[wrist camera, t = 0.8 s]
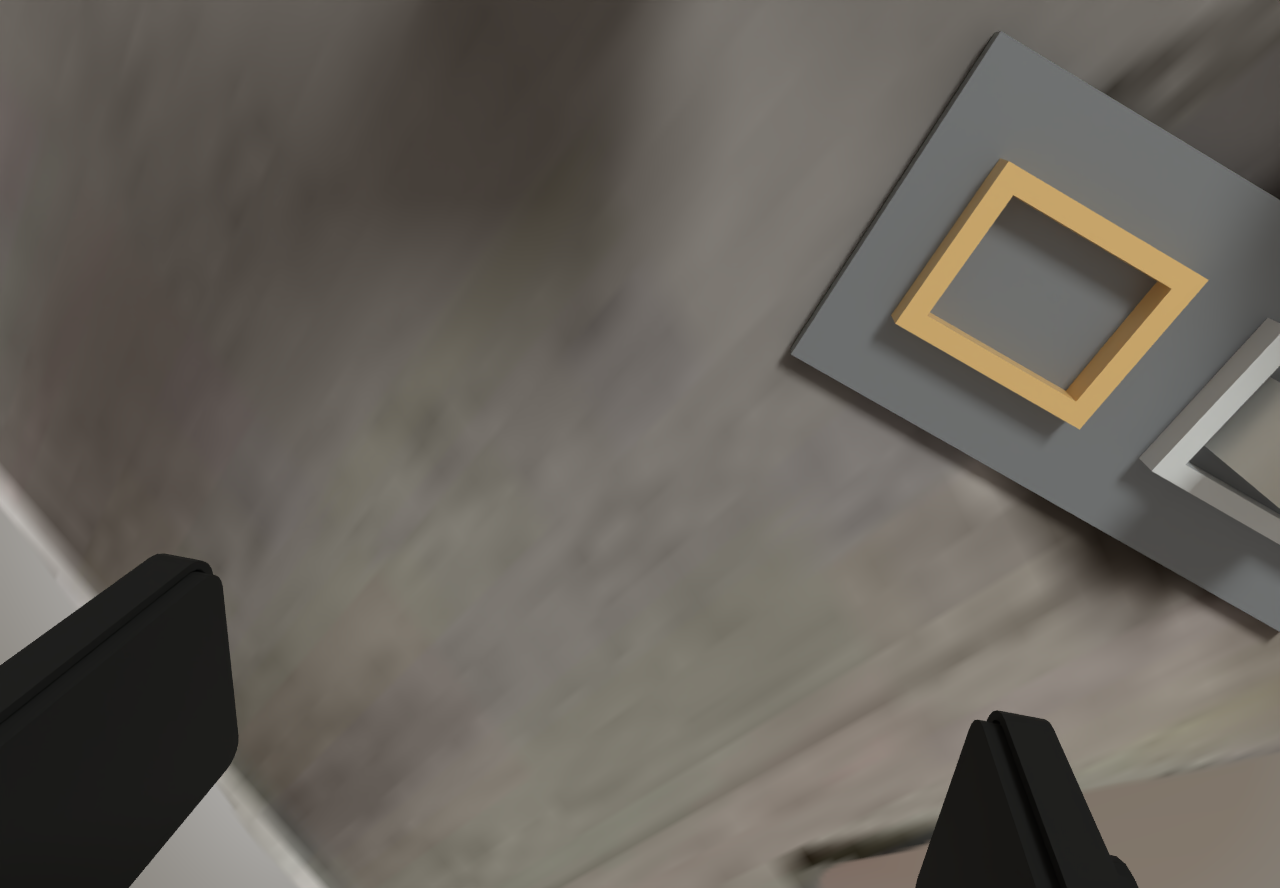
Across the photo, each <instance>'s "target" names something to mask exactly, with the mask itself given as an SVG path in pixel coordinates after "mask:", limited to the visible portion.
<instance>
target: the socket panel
mask: <svg viewBox="0 0 1280 888" xmlns="http://www.w3.org/2000/svg"><path fill="white" fill-rule="evenodd" d="M791 355H793V356H795V357H796V358H798V359H800V360H802V361H803V362H805V363H807V364H809V365H810V366H812V367H814V368H816V369H817V370H819V371H821V372H823V373H824V374H826V375H828V376H830V377H832V378H833V379H835V380H837V381H839V382H840V383H842V384H844V385H846V386H847V387H849V388H851V389H853V390H854V391H856V392H858V393H860V394H861V395H863V396H865V397H867V398H869V399H870V400H872V401H874V402H876V403H877V404H879V405H881V406H883V407H884V408H886V409H888V410H890V411H891V412H893V413H895V414H897V415H898V416H900V417H902V418H904V419H906V420H907V421H909V422H911V423H913V424H914V425H916V426H918V427H920V428H921V429H923V430H925V431H927V432H928V433H930V434H932V435H934V436H935V437H937V438H939V439H941V440H943V441H944V442H946V443H948V444H950V445H951V446H953V447H955V448H957V449H958V450H960V451H962V452H964V453H965V454H967V455H969V456H971V457H972V458H974V459H976V460H978V461H980V462H981V463H983V464H985V465H987V466H988V467H990V468H992V469H994V470H995V471H997V472H999V473H1001V474H1002V475H1004V476H1006V477H1008V478H1009V479H1011V480H1013V481H1015V482H1017V483H1018V484H1020V485H1022V486H1024V487H1025V488H1027V489H1029V490H1031V491H1032V492H1034V493H1036V494H1038V495H1039V496H1041V497H1043V498H1045V499H1046V500H1048V501H1050V502H1052V503H1054V504H1055V505H1057V506H1059V507H1061V508H1062V509H1064V510H1066V511H1068V512H1069V513H1071V514H1073V515H1075V516H1076V517H1078V518H1080V519H1082V520H1083V521H1085V522H1087V523H1089V524H1091V525H1092V526H1094V527H1096V528H1098V529H1099V530H1101V531H1103V532H1105V533H1106V534H1108V535H1110V536H1112V537H1113V538H1115V539H1117V540H1119V541H1121V542H1122V543H1124V544H1126V545H1128V546H1129V547H1131V548H1133V549H1135V550H1136V551H1138V552H1140V553H1142V554H1143V555H1145V556H1147V557H1149V558H1150V559H1152V560H1154V561H1156V562H1158V563H1159V564H1161V565H1163V566H1165V567H1166V568H1168V569H1170V570H1172V571H1173V572H1175V573H1177V574H1179V575H1180V576H1182V577H1184V578H1186V579H1187V580H1189V581H1191V582H1193V583H1195V584H1196V585H1198V586H1200V587H1202V588H1203V589H1205V590H1207V591H1209V592H1210V593H1212V594H1214V595H1216V596H1217V597H1219V598H1221V599H1223V600H1224V601H1226V602H1228V603H1230V604H1232V605H1233V606H1235V607H1237V608H1239V609H1240V610H1242V611H1244V612H1246V613H1247V614H1249V615H1251V616H1253V617H1254V618H1256V619H1258V620H1260V621H1261V622H1263V623H1265V624H1267V625H1269V626H1270V627H1272V628H1274V629H1276V630H1277V631H1279V632H1280V508H1278V507H1277V506H1276V505H1275V504H1274V503H1272V502H1271V501H1270V500H1269V499H1268V498H1266V497H1265V496H1264V495H1263V494H1262V493H1260V492H1259V491H1258V490H1257V489H1256V488H1254V487H1253V486H1252V485H1251V484H1250V483H1248V482H1247V481H1246V480H1245V479H1244V478H1242V477H1241V476H1240V475H1239V474H1238V473H1236V472H1235V471H1234V470H1233V469H1232V468H1230V467H1229V466H1228V465H1227V464H1226V463H1225V462H1223V461H1222V460H1221V459H1220V458H1219V457H1217V456H1216V455H1215V454H1214V453H1213V452H1211V451H1210V450H1209V449H1208V448H1207V447H1205V446H1204V445H1205V444H1206V443H1207V442H1208V441H1209V440H1210V439H1211V438H1212V437H1213V436H1214V435H1215V434H1216V433H1217V432H1218V431H1219V430H1220V429H1221V427H1222V426H1223V425H1224V424H1225V423H1226V422H1227V421H1228V420H1229V419H1230V418H1231V417H1232V416H1233V415H1234V414H1235V413H1236V412H1237V411H1238V410H1239V409H1240V408H1241V406H1242V405H1243V404H1244V403H1245V402H1246V401H1247V400H1248V399H1249V398H1250V397H1251V396H1252V395H1253V394H1254V393H1255V392H1256V391H1257V390H1258V389H1259V388H1260V387H1261V386H1262V384H1263V383H1264V382H1265V381H1266V380H1267V379H1268V378H1269V377H1271V378H1273V379H1275V380H1277V381H1278V382H1280V200H1279V199H1277V198H1276V197H1274V196H1272V195H1271V194H1269V193H1267V192H1266V191H1264V190H1262V189H1261V188H1259V187H1257V186H1256V185H1254V184H1253V183H1251V182H1249V181H1248V180H1246V179H1244V178H1243V177H1241V176H1239V175H1238V174H1236V173H1234V172H1233V171H1231V170H1229V169H1228V168H1226V167H1224V166H1223V165H1221V164H1220V163H1218V162H1216V161H1215V160H1213V159H1211V158H1210V157H1208V156H1206V155H1205V154H1203V153H1201V152H1200V151H1198V150H1196V149H1195V148H1193V147H1191V146H1190V145H1188V144H1187V143H1185V142H1183V141H1182V140H1180V139H1178V138H1177V137H1175V136H1173V135H1172V134H1170V133H1168V132H1167V131H1165V130H1163V129H1162V128H1160V127H1158V126H1157V125H1155V124H1154V123H1152V122H1150V121H1149V120H1147V119H1145V118H1144V117H1142V116H1140V115H1139V114H1137V113H1135V112H1134V111H1132V110H1130V109H1129V108H1127V107H1125V106H1124V105H1122V104H1121V103H1119V102H1117V101H1116V100H1114V99H1112V98H1111V97H1109V96H1107V95H1106V94H1104V93H1102V92H1101V91H1099V90H1097V89H1096V88H1094V87H1092V86H1091V85H1089V84H1088V83H1086V82H1084V81H1083V80H1081V79H1079V78H1078V77H1076V76H1074V75H1073V74H1071V73H1069V72H1068V71H1066V70H1064V69H1063V68H1061V67H1059V66H1058V65H1056V64H1055V63H1053V62H1051V61H1050V60H1048V59H1046V58H1045V57H1043V56H1041V55H1040V54H1038V53H1036V52H1035V51H1033V50H1031V49H1030V48H1028V47H1026V46H1025V45H1023V44H1022V43H1020V42H1018V41H1017V40H1015V39H1013V38H1012V37H1010V36H1008V35H1007V34H1005V33H1003V32H1002V31H999V32H995V33H994V35H993V36H992V38H991V39H990V41H989V43H988V44H987V46H986V47H985V49H984V50H983V52H982V53H981V55H980V56H979V58H978V60H977V61H976V63H975V64H974V66H973V67H972V69H971V70H970V72H969V74H968V75H967V77H966V78H965V80H964V81H963V83H962V84H961V86H960V87H959V89H958V91H957V92H956V94H955V95H954V97H953V98H952V100H951V101H950V103H949V104H948V106H947V108H946V109H945V111H944V112H943V114H942V115H941V117H940V118H939V120H938V121H937V123H936V125H935V126H934V128H933V129H932V131H931V132H930V134H929V135H928V137H927V138H926V140H925V142H924V143H923V145H922V146H921V148H920V149H919V151H918V152H917V154H916V155H915V157H914V159H913V160H912V162H911V163H910V165H909V166H908V168H907V169H906V171H905V172H904V174H903V176H902V177H901V179H900V180H899V182H898V183H897V185H896V186H895V188H894V189H893V191H892V193H891V194H890V196H889V197H888V199H887V200H886V202H885V203H884V205H883V206H882V208H881V210H880V211H879V213H878V214H877V216H876V217H875V219H874V220H873V222H872V223H871V225H870V227H869V228H868V230H867V231H866V233H865V234H864V236H863V237H862V239H861V241H860V242H859V244H858V245H857V247H856V248H855V250H854V251H853V253H852V254H851V256H850V258H849V259H848V261H847V262H846V264H845V265H844V267H843V268H842V270H841V271H840V273H839V275H838V276H837V278H836V279H835V281H834V282H833V284H832V285H831V287H830V288H829V290H828V292H827V293H826V295H825V296H824V298H823V299H822V301H821V302H820V304H819V305H818V307H817V309H816V310H815V312H814V313H813V315H812V316H811V318H810V319H809V321H808V322H807V324H806V326H805V327H804V329H803V330H802V332H801V333H800V335H799V336H798V338H797V339H796V341H795V343H794V344H793V346H792V347H791Z"/></svg>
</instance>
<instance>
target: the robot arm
mask: <svg viewBox="0 0 1280 888" xmlns="http://www.w3.org/2000/svg"><path fill="white" fill-rule="evenodd" d="M237 746H238V728H237V718H236V709H235V699H234V690H233V680H232V671H231V661H230V652H229V642H228V633H227V623H226V614H225V604H224V595H223V586H222V582H221V580H220V578H219V577H218V576H216V575H213V572H212V569H211V567H210V566H209V564H208V563H206V562H204V561H201V560H195V559H190V558H185V557H179V556H174V555H169V554H156V555H154V556H152V557H150V558H149V559H147V560H146V561H144V562H143V563H142V564H140V565H139V566H137V567H136V568H135V569H133V570H132V571H131V572H129V573H128V574H126V575H125V576H124V577H122V578H121V579H119V580H118V581H117V582H115V583H114V584H113V585H111V586H110V587H108V588H107V589H106V590H104V591H103V592H101V593H100V594H99V595H97V596H96V597H94V598H93V599H92V600H90V601H89V602H88V603H86V604H85V605H83V606H82V607H81V608H79V609H78V610H76V611H75V612H74V613H72V614H71V615H70V616H68V617H67V618H65V619H64V620H63V621H61V622H60V623H58V624H57V625H56V626H54V627H53V628H52V629H50V630H49V631H47V632H46V633H45V634H43V635H42V636H40V637H39V638H38V639H36V640H35V641H33V642H32V643H31V644H29V645H28V646H27V647H25V648H24V649H22V650H21V651H20V652H18V653H17V654H15V655H14V656H13V657H11V658H10V659H8V660H7V661H6V662H4V663H3V664H2V665H0V888H129V887H130V886H131V884H132V883H133V882H134V881H135V880H136V878H137V877H138V876H139V875H140V873H141V872H142V871H143V870H144V869H145V867H146V866H147V865H148V864H149V863H150V861H151V860H152V859H153V858H154V857H155V855H156V854H157V853H158V852H159V851H160V849H161V848H162V847H163V846H164V845H165V843H166V842H167V841H168V840H169V838H170V837H171V836H172V835H173V834H174V832H175V831H176V830H177V829H178V827H179V826H180V825H181V824H182V823H183V822H184V820H185V819H186V818H187V817H188V816H189V814H190V813H191V812H192V811H193V809H194V808H195V807H196V806H197V805H198V804H199V802H200V801H201V800H202V799H203V797H204V796H205V795H206V794H207V793H208V791H209V790H210V789H211V788H212V787H213V785H214V784H215V783H216V782H217V781H218V779H219V778H220V777H221V776H222V775H223V773H224V772H225V771H226V770H227V768H228V767H229V765H230V764H231V762H232V760H233V758H234V756H235V753H236V750H237ZM916 888H1138V886H1137V883H1136V881H1135V879H1134V877H1133V876H1132V874H1131V872H1130V871H1129V869H1128V867H1127V866H1126V864H1125V863H1123V862H1122V861H1121V860H1120V859H1119V858H1118V857H1117V856H1112V855H1109V853H1108V850H1107V848H1106V846H1105V844H1104V841H1103V839H1102V837H1101V835H1100V832H1099V830H1098V828H1097V826H1096V823H1095V821H1094V819H1093V817H1092V814H1091V812H1090V810H1089V808H1088V806H1087V803H1086V801H1085V799H1084V796H1083V794H1082V792H1081V790H1080V787H1079V785H1078V783H1077V781H1076V778H1075V776H1074V774H1073V771H1072V769H1071V767H1070V765H1069V762H1068V760H1067V758H1066V756H1065V753H1064V751H1063V749H1062V747H1061V744H1060V742H1059V740H1058V738H1057V735H1056V733H1055V731H1054V729H1053V727H1052V726H1051V724H1050V722H1048V721H1047V720H1045V719H1040V718H1035V717H1030V716H1024V715H1019V714H1014V713H1008V712H1003V711H998V710H997V711H993V712H992V713H991V714H990V715H989V717H988V719H987V721H982V720H974V722H973V723H972V724H971V726H970V729H969V731H968V734H967V737H966V740H965V743H964V746H963V749H962V751H961V754H960V757H959V760H958V763H957V766H956V769H955V772H954V775H953V777H952V780H951V783H950V786H949V789H948V792H947V795H946V798H945V801H944V803H943V806H942V809H941V812H940V815H939V818H938V821H937V824H936V827H935V830H934V832H933V835H932V838H931V841H930V844H929V847H928V850H927V853H926V856H925V859H924V861H923V865H922V867H921V870H920V873H919V876H918V879H917V883H916Z"/></svg>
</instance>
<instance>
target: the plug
mask: <svg viewBox="0 0 1280 888" xmlns="http://www.w3.org/2000/svg"><path fill="white" fill-rule="evenodd" d="M1204 446H1205V447H1207V448H1208V449H1209V450H1210V451H1211V452H1213V453H1214V454H1215V455H1216V456H1217V457H1219V458H1220V459H1221V460H1222V461H1223V462H1225V463H1226V464H1227V465H1228V466H1229V467H1230V468H1232V469H1233V470H1234V471H1235V472H1236V473H1238V474H1239V475H1240V476H1241V477H1242V478H1244V479H1245V480H1246V481H1247V482H1248V483H1250V484H1251V485H1252V486H1253V487H1254V488H1256V489H1257V490H1258V491H1259V492H1260V493H1262V494H1263V495H1264V496H1265V497H1266V498H1268V499H1269V500H1270V501H1271V502H1272V503H1274V504H1275V505H1276V506H1277V507H1278V508H1280V382H1278V381H1277V380H1275V379H1273V378H1271V377H1269V378H1268V379H1267V380H1266V381H1265V382H1264V383H1263V384H1262V386H1261V387H1260V388H1259V389H1258V390H1257V391H1256V392H1255V393H1254V394H1253V395H1252V396H1251V397H1250V398H1249V399H1248V400H1247V401H1246V402H1245V403H1244V404H1243V405H1242V406H1241V408H1240V409H1239V410H1238V411H1237V412H1236V413H1235V414H1234V415H1233V416H1232V417H1231V418H1230V419H1229V420H1228V421H1227V422H1226V423H1225V424H1224V425H1223V426H1222V427H1221V429H1220V430H1219V431H1218V432H1217V433H1216V434H1215V435H1214V436H1213V437H1212V438H1211V439H1210V440H1209V441H1208V442H1207V443H1206V444H1205V445H1204Z"/></svg>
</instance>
